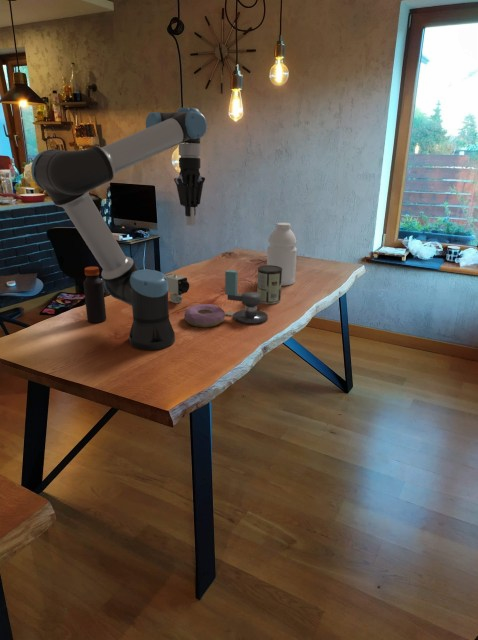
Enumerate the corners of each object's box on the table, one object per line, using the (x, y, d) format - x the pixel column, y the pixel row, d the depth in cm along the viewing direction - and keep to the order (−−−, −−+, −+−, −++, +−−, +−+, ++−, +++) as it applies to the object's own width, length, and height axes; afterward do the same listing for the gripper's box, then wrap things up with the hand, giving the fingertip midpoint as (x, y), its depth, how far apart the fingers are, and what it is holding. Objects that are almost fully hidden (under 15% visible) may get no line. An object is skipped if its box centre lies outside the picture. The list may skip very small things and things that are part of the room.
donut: (184, 314, 177) (183, 302, 175) (223, 313, 179) (223, 301, 177) (184, 330, 163) (184, 317, 161) (227, 328, 165) (227, 316, 163)
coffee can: (266, 294, 201) (268, 263, 196) (285, 300, 194) (287, 268, 189) (251, 300, 194) (252, 268, 189) (270, 306, 187) (271, 273, 182)
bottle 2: (265, 277, 226) (268, 220, 216) (293, 278, 226) (297, 221, 216) (266, 285, 213) (268, 225, 203) (295, 286, 213) (299, 226, 203)
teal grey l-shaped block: (262, 301, 174) (263, 271, 170) (257, 306, 168) (258, 276, 163) (229, 296, 178) (229, 268, 173) (223, 302, 172) (223, 273, 167)
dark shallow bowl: (260, 326, 166) (261, 311, 164) (219, 319, 172) (219, 304, 170) (272, 315, 177) (272, 300, 175) (233, 308, 183) (233, 294, 181)
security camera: (182, 306, 185) (181, 278, 180) (162, 300, 191) (160, 272, 187) (191, 303, 189) (191, 275, 185) (171, 297, 196) (170, 270, 191)
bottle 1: (86, 324, 166) (80, 271, 158) (88, 317, 172) (82, 266, 165) (105, 323, 167) (100, 270, 160) (107, 316, 173) (102, 265, 166)
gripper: (196, 156, 165) (196, 221, 174) (168, 156, 156) (170, 225, 165) (210, 157, 160) (210, 224, 169) (182, 157, 151) (183, 228, 160)
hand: (190, 224), depth 167 cm, fingers closed
